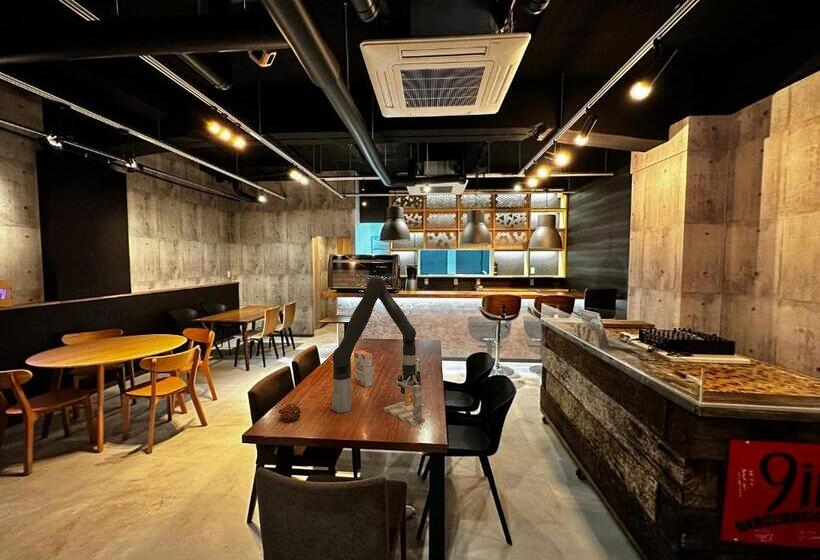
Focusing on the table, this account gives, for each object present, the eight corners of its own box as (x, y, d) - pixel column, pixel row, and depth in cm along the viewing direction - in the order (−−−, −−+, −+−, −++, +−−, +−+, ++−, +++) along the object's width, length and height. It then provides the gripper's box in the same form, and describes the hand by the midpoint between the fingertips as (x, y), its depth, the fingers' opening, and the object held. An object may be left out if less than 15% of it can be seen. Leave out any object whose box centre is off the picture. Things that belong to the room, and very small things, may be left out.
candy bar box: (419, 382, 224) (418, 357, 223) (420, 385, 219) (420, 360, 218) (402, 384, 222) (401, 359, 221) (403, 386, 217) (403, 361, 216)
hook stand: (424, 421, 168) (424, 385, 167) (413, 426, 163) (413, 388, 162) (394, 406, 186) (393, 373, 185) (384, 410, 181) (383, 376, 181)
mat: (408, 411, 180) (408, 410, 180) (395, 404, 188) (395, 403, 188) (423, 405, 187) (423, 404, 187) (410, 399, 195) (410, 398, 195)
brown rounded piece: (301, 424, 170) (280, 425, 172) (307, 409, 176) (286, 410, 179) (293, 415, 165) (271, 416, 168) (299, 399, 171) (278, 401, 174)
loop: (407, 406, 185) (407, 394, 185) (404, 404, 187) (404, 393, 186) (415, 403, 188) (415, 392, 188) (412, 402, 190) (412, 390, 190)
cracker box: (354, 382, 226) (353, 350, 226) (362, 380, 230) (361, 349, 229) (364, 388, 215) (364, 355, 214) (373, 386, 219) (372, 353, 218)
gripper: (414, 359, 194) (414, 387, 195) (394, 363, 185) (394, 393, 186) (423, 361, 189) (423, 390, 189) (403, 366, 179) (403, 397, 180)
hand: (409, 392), depth 187 cm, fingers open, 8 cm apart
